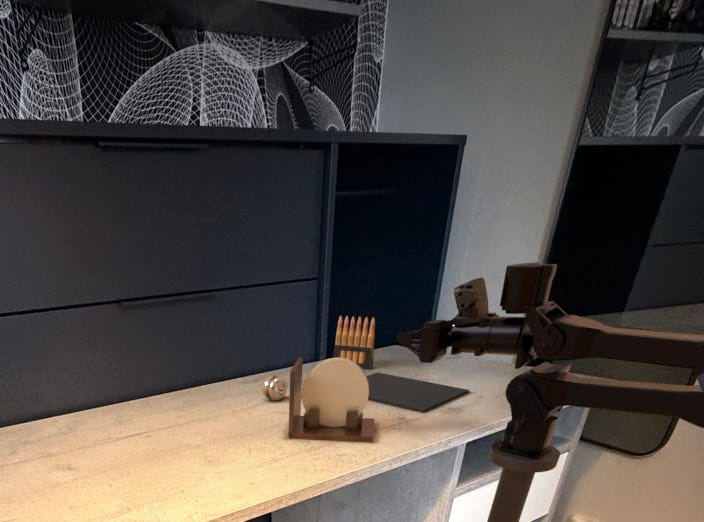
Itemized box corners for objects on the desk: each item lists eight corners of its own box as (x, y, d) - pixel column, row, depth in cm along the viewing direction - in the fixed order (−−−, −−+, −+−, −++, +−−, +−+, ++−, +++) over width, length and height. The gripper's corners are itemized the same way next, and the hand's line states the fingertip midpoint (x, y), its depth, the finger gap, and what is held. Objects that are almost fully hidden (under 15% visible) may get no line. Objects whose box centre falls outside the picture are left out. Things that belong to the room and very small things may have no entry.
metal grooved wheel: (279, 396, 116) (279, 373, 113) (288, 398, 114) (288, 375, 111) (262, 400, 114) (262, 377, 111) (271, 403, 112) (272, 380, 109)
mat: (468, 392, 111) (469, 389, 111) (423, 412, 102) (423, 409, 102) (377, 374, 127) (377, 372, 126) (330, 390, 118) (330, 388, 117)
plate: (365, 425, 95) (373, 357, 88) (364, 428, 94) (372, 360, 87) (301, 422, 98) (304, 357, 91) (300, 425, 97) (303, 359, 90)
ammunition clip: (332, 365, 137) (335, 315, 130) (335, 363, 138) (338, 314, 131) (369, 369, 131) (375, 318, 124) (372, 367, 132) (378, 316, 125)
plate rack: (374, 423, 99) (382, 358, 92) (372, 442, 91) (381, 372, 84) (296, 420, 102) (298, 357, 95) (288, 438, 95) (290, 371, 88)
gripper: (528, 274, 86) (440, 277, 96) (479, 287, 76) (386, 290, 86) (514, 345, 92) (432, 341, 102) (466, 366, 82) (381, 360, 92)
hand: (410, 332), depth 95 cm, fingers open, 9 cm apart
